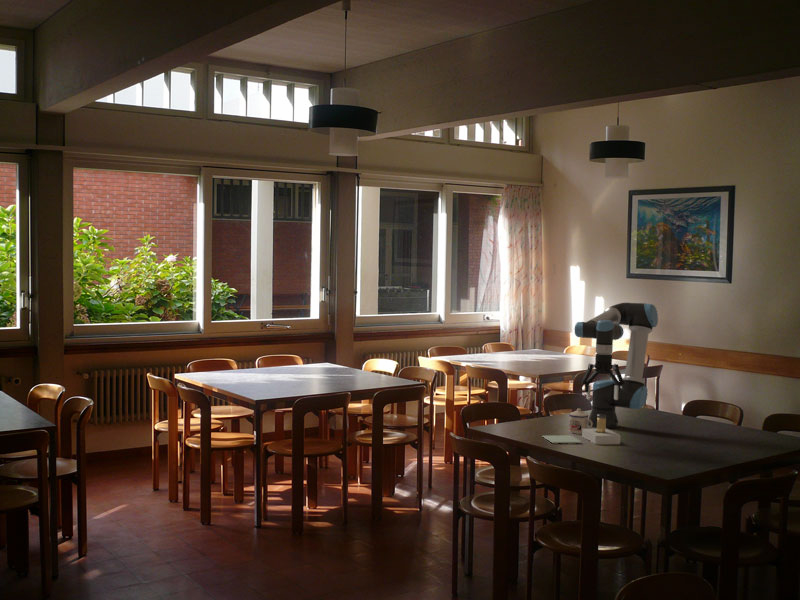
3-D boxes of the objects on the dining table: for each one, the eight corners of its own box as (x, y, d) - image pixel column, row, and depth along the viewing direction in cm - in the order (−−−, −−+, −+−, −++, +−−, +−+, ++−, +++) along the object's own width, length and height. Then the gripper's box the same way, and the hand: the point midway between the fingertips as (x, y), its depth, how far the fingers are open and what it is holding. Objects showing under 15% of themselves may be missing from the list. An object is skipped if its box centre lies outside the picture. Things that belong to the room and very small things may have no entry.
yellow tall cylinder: (594, 439, 382) (595, 414, 381) (603, 439, 382) (604, 414, 382) (598, 441, 378) (599, 415, 377) (606, 441, 378) (607, 415, 378)
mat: (542, 437, 383) (542, 435, 383) (570, 437, 385) (570, 435, 385) (552, 444, 369) (552, 442, 369) (581, 444, 371) (581, 441, 371)
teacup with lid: (565, 432, 397) (565, 408, 397) (574, 430, 404) (575, 406, 403) (587, 436, 389) (588, 412, 388) (596, 433, 396) (597, 409, 395)
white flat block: (581, 437, 387) (582, 428, 387) (605, 436, 389) (606, 428, 389) (595, 444, 371) (595, 435, 371) (620, 444, 373) (620, 435, 373)
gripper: (581, 354, 373) (579, 400, 373) (632, 355, 377) (630, 400, 377) (575, 352, 380) (573, 397, 381) (625, 353, 384) (623, 398, 385)
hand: (602, 399), depth 379 cm, fingers open, 13 cm apart
